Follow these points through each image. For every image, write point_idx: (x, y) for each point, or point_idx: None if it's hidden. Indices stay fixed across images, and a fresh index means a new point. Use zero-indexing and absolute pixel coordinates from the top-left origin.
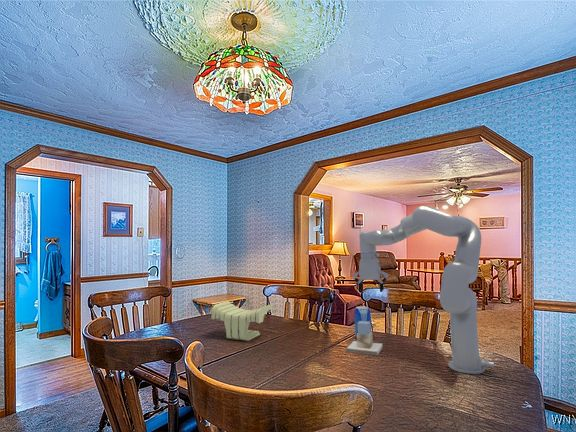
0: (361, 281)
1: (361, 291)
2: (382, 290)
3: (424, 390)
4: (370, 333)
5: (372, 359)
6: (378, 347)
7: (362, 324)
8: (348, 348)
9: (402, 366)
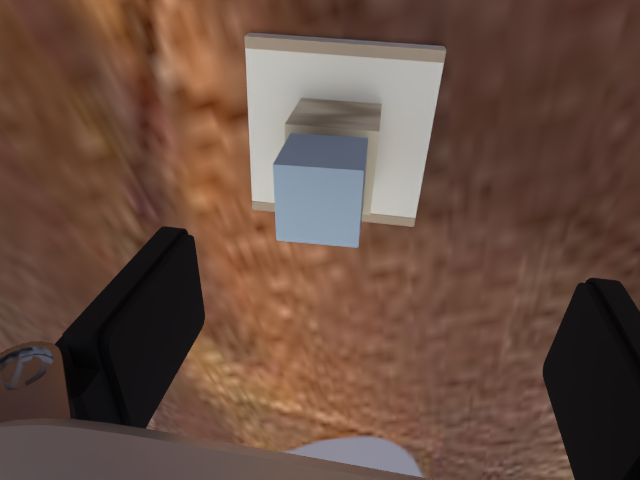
0: (63, 410)
1: (201, 324)
2: (616, 298)
3: (557, 448)
4: (371, 171)
5: (395, 264)
6: (419, 144)
7: (316, 239)
8: (263, 206)
9: (523, 311)
